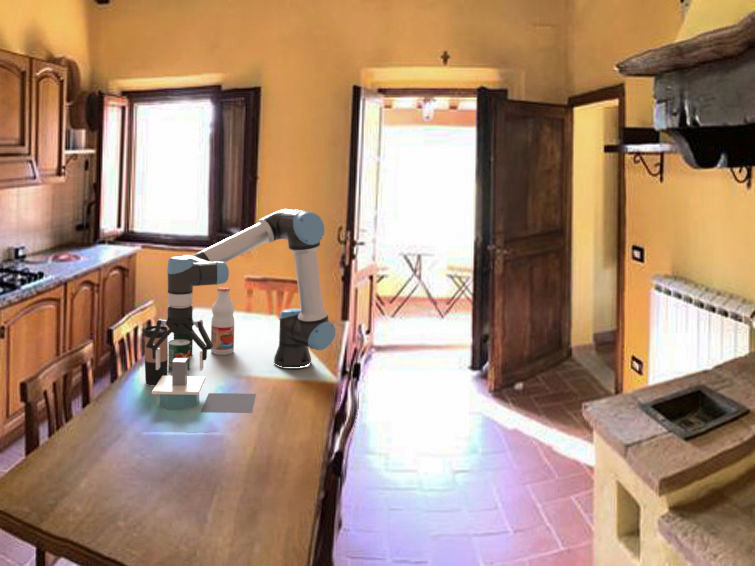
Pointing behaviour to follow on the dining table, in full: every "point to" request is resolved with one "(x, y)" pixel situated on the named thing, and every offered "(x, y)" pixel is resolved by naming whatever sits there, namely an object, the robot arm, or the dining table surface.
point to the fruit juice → (222, 323)
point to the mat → (229, 403)
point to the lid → (179, 380)
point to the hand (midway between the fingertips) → (179, 369)
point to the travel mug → (150, 363)
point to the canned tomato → (178, 351)
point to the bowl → (178, 401)
